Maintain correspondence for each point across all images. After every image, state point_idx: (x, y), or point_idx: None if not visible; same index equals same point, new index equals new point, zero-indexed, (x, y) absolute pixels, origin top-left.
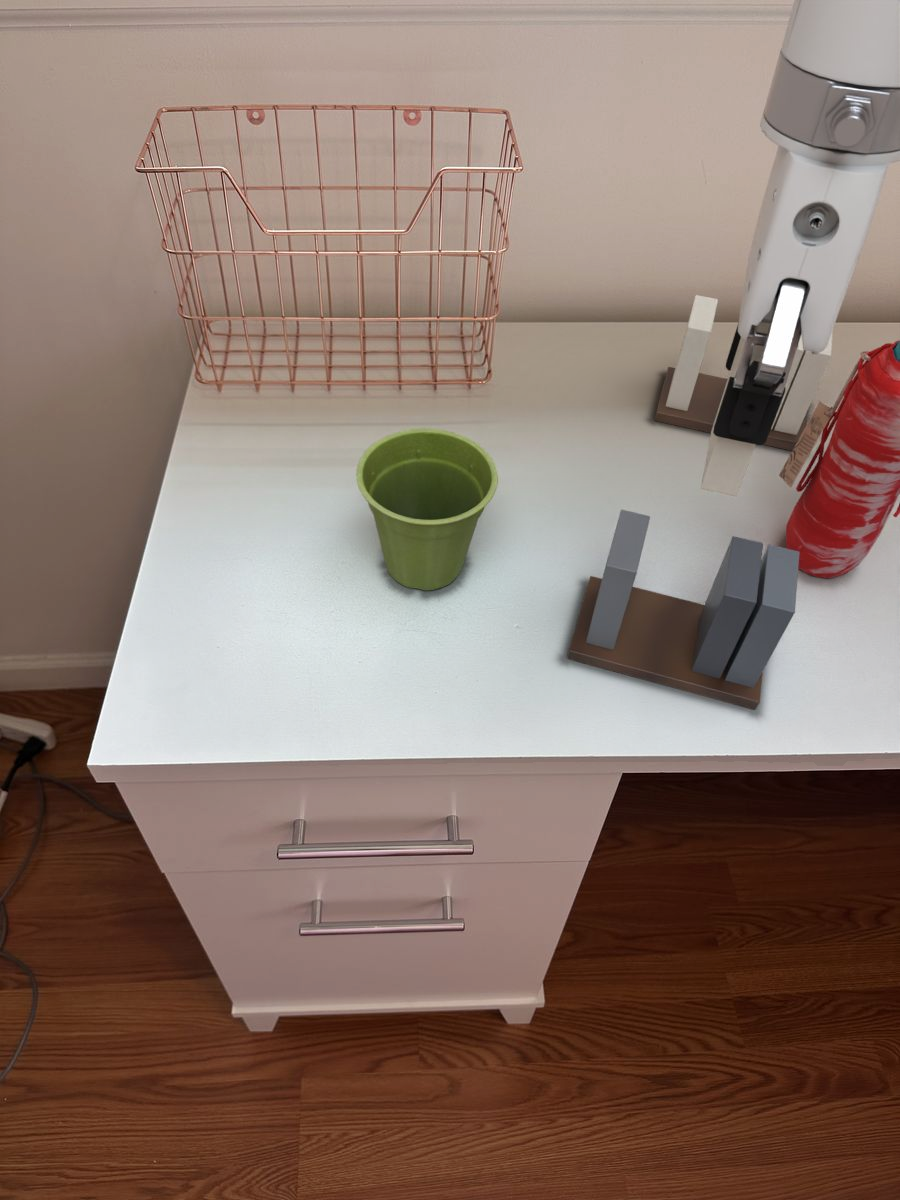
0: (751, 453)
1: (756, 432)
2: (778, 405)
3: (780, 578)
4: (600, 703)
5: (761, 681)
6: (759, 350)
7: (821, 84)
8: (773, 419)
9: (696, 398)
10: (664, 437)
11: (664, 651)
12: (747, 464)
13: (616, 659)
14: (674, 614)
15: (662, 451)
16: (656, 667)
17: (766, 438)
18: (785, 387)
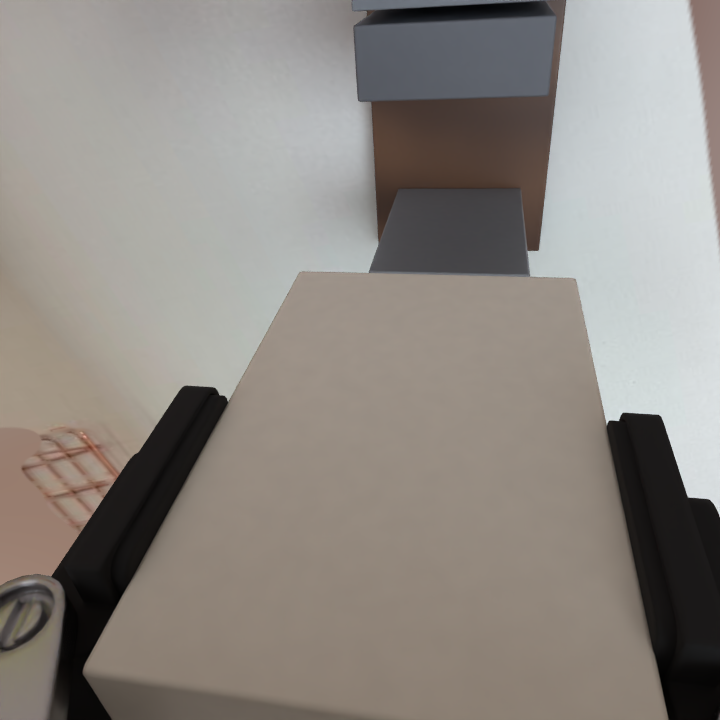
0: (596, 378)
1: (717, 512)
2: (712, 577)
3: None
4: (612, 178)
5: None
6: None
7: None
8: (689, 507)
9: None
10: (11, 183)
11: (500, 104)
12: (589, 348)
13: (538, 179)
14: (411, 101)
15: (44, 180)
16: (539, 112)
17: (664, 431)
18: (685, 642)
